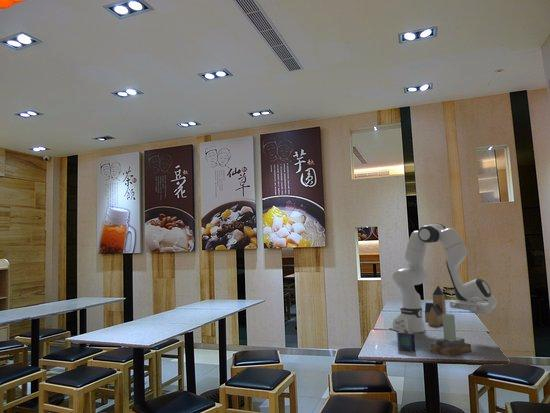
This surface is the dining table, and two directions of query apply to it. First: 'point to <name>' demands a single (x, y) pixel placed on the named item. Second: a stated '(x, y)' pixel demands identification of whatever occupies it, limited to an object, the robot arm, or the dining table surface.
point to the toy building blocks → (436, 308)
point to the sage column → (449, 326)
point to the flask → (406, 341)
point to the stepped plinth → (450, 347)
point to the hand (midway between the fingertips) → (461, 307)
